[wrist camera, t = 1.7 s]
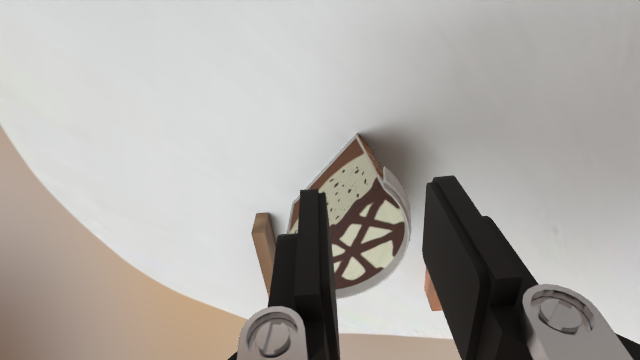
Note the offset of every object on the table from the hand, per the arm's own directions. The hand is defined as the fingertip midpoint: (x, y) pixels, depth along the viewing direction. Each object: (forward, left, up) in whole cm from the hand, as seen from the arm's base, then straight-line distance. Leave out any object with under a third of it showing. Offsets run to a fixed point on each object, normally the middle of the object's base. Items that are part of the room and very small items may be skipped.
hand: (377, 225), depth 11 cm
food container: (0, +11, -19) cm, 22 cm away
